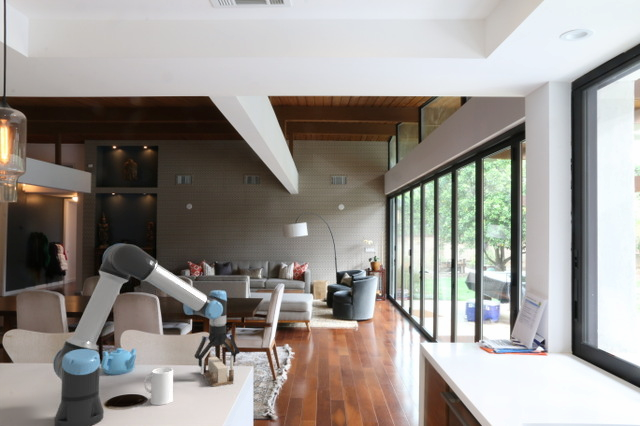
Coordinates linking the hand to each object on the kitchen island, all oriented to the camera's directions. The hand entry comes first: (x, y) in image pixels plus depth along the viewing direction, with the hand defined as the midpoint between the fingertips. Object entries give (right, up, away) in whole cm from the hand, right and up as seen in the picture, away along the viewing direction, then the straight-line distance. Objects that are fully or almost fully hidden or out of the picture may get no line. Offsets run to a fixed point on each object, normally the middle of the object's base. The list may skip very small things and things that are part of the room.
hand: (217, 371), depth 204 cm
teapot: (-49, -4, +10) cm, 50 cm away
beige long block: (0, -2, 0) cm, 2 cm away
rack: (0, -3, 0) cm, 3 cm away
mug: (-17, -2, -29) cm, 33 cm away
